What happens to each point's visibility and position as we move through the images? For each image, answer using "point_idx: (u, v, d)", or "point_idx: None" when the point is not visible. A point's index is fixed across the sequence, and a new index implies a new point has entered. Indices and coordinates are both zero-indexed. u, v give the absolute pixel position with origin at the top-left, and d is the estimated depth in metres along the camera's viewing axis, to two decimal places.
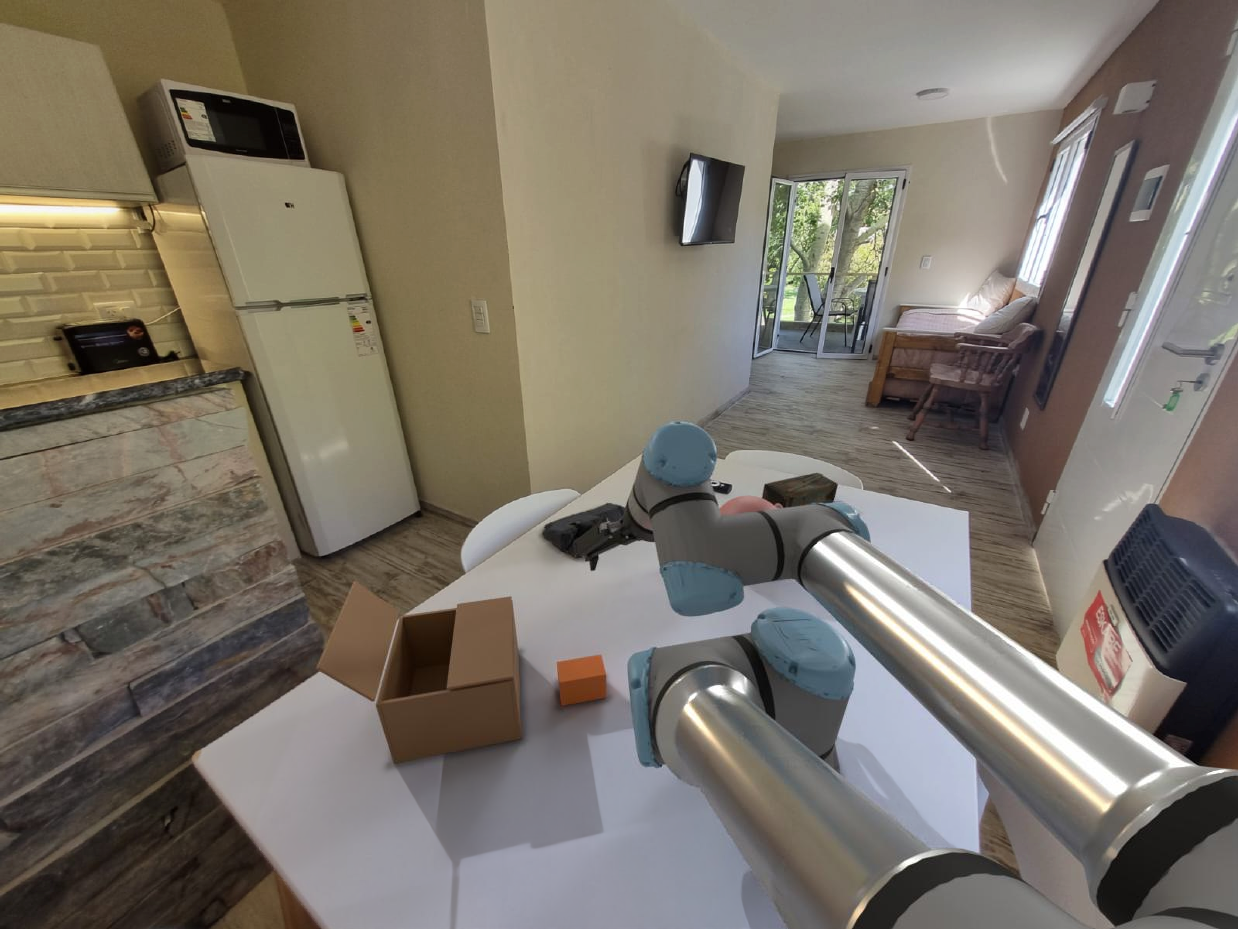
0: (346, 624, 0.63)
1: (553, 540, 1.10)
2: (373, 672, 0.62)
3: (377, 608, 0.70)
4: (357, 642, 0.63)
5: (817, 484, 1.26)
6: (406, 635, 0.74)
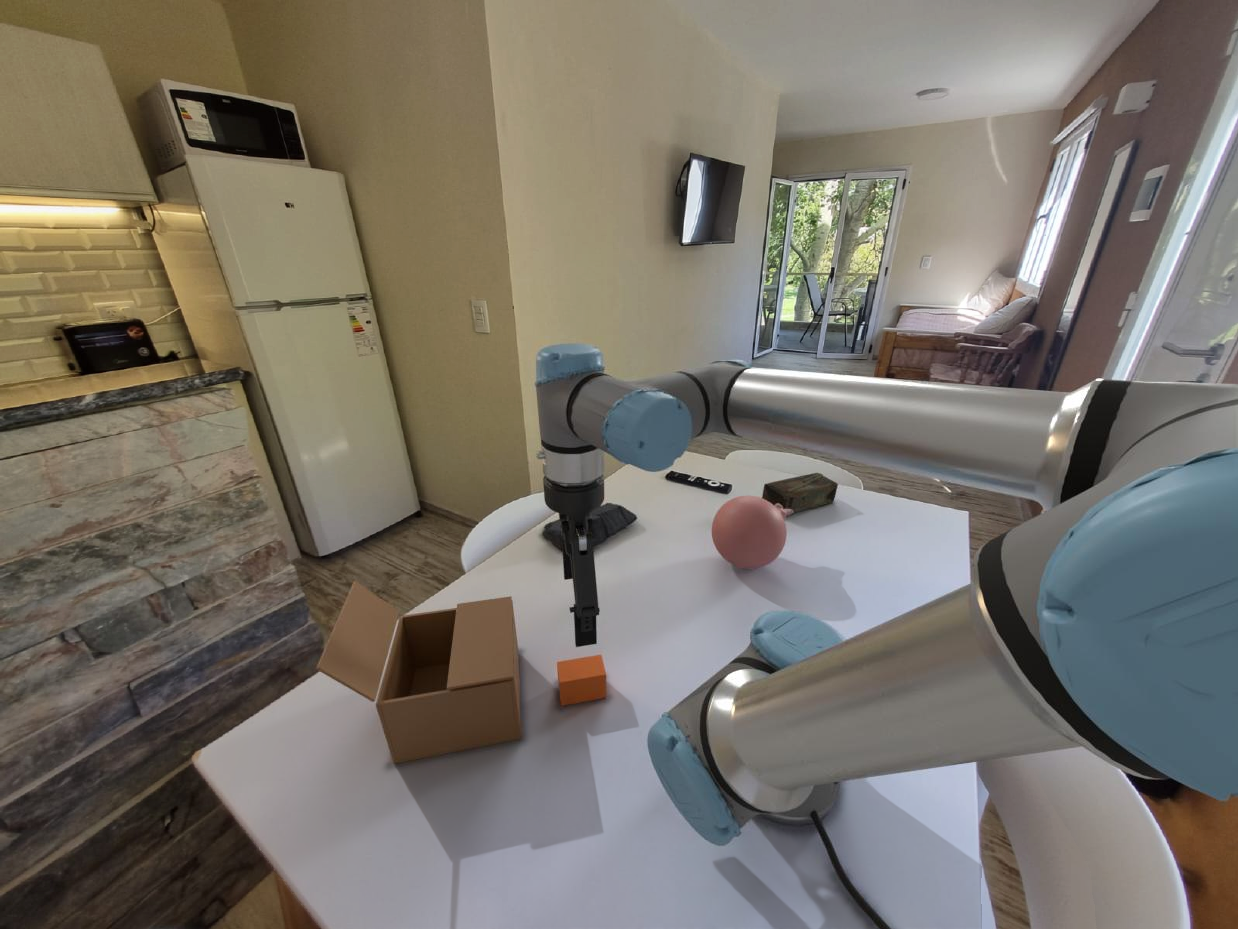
0: (346, 624, 0.63)
1: (553, 540, 1.10)
2: (373, 672, 0.62)
3: (377, 608, 0.70)
4: (357, 642, 0.63)
5: (817, 484, 1.26)
6: (406, 635, 0.74)
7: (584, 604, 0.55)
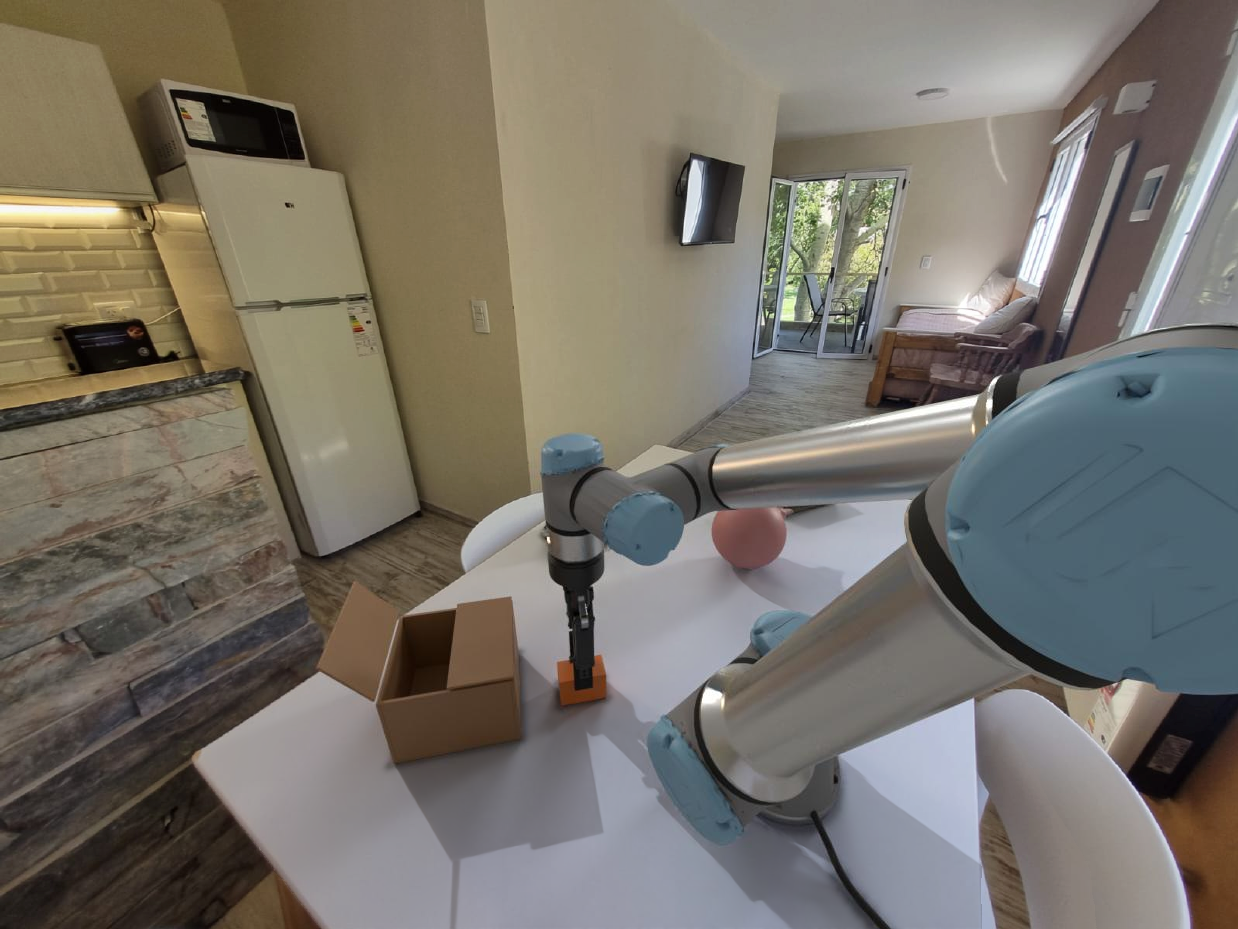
0: (346, 624, 0.63)
1: None
2: (373, 672, 0.62)
3: (377, 608, 0.70)
4: (357, 642, 0.63)
5: None
6: (406, 635, 0.74)
7: (582, 662, 0.64)
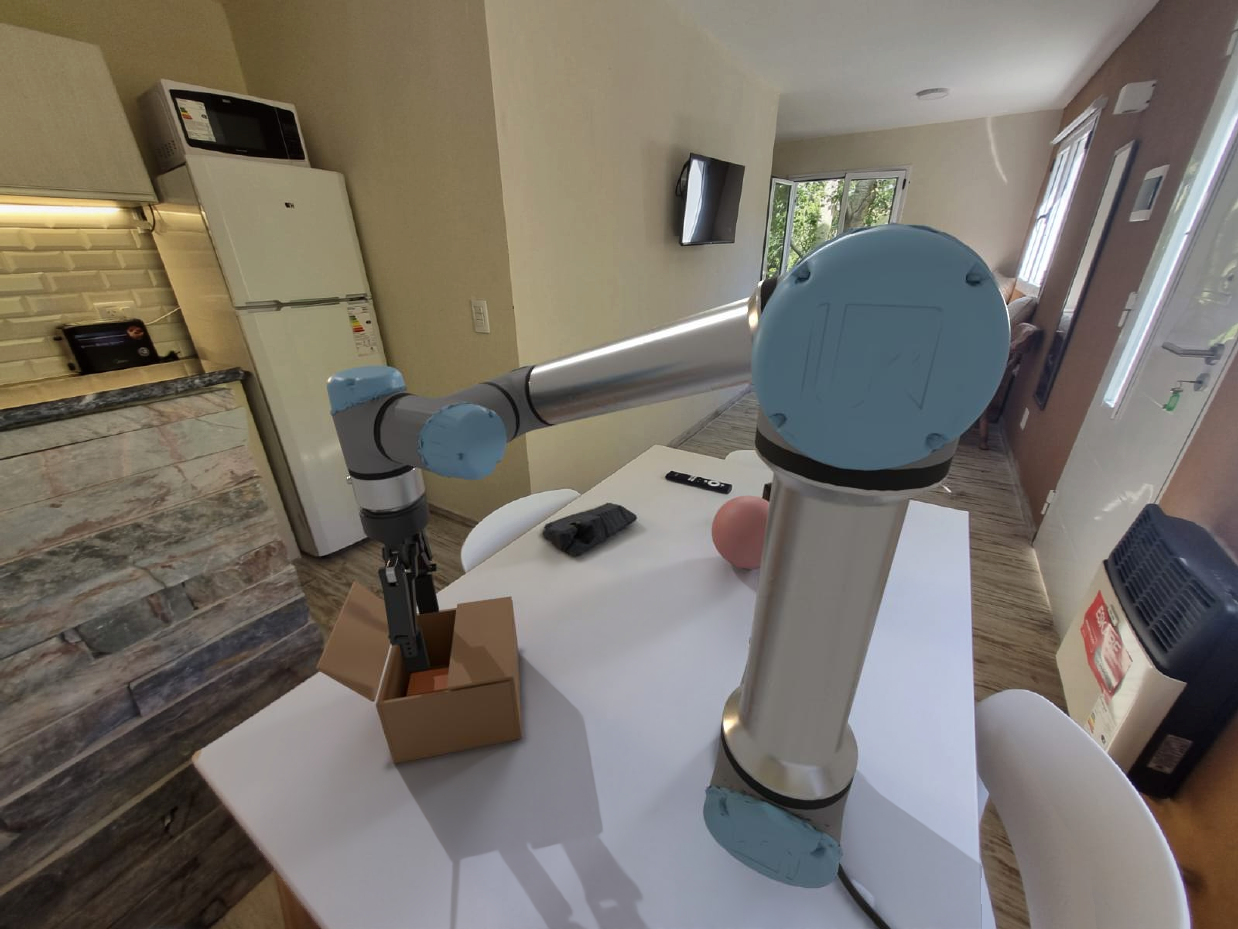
0: (346, 624, 0.63)
1: (553, 540, 1.10)
2: (373, 672, 0.62)
3: (377, 608, 0.70)
4: (357, 642, 0.63)
5: None
6: None
7: (396, 633, 0.55)
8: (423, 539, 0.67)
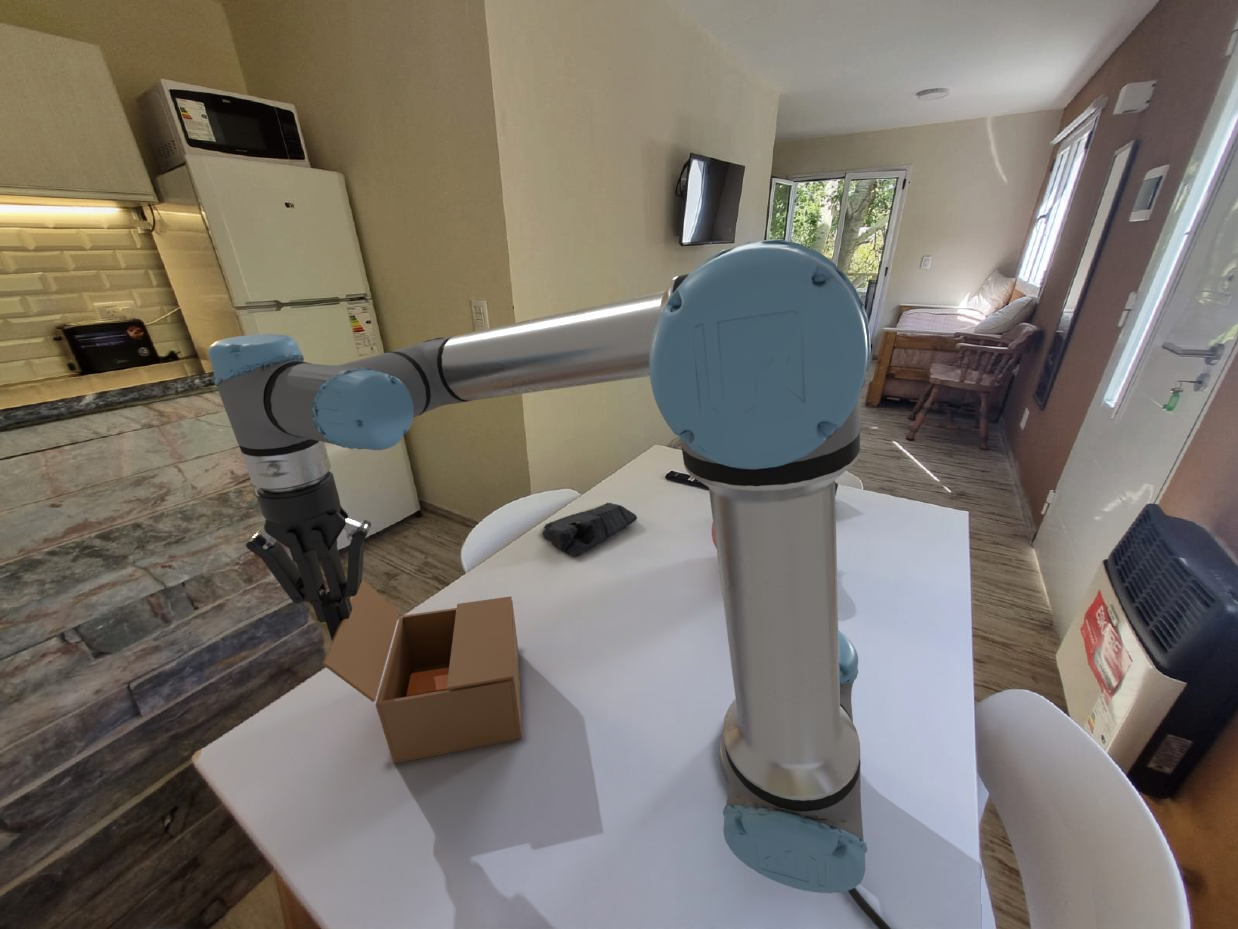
0: (351, 621, 0.63)
1: (553, 540, 1.10)
2: (374, 671, 0.62)
3: (379, 607, 0.70)
4: (361, 640, 0.63)
5: None
6: (406, 635, 0.74)
7: (359, 582, 0.60)
8: (289, 557, 0.58)
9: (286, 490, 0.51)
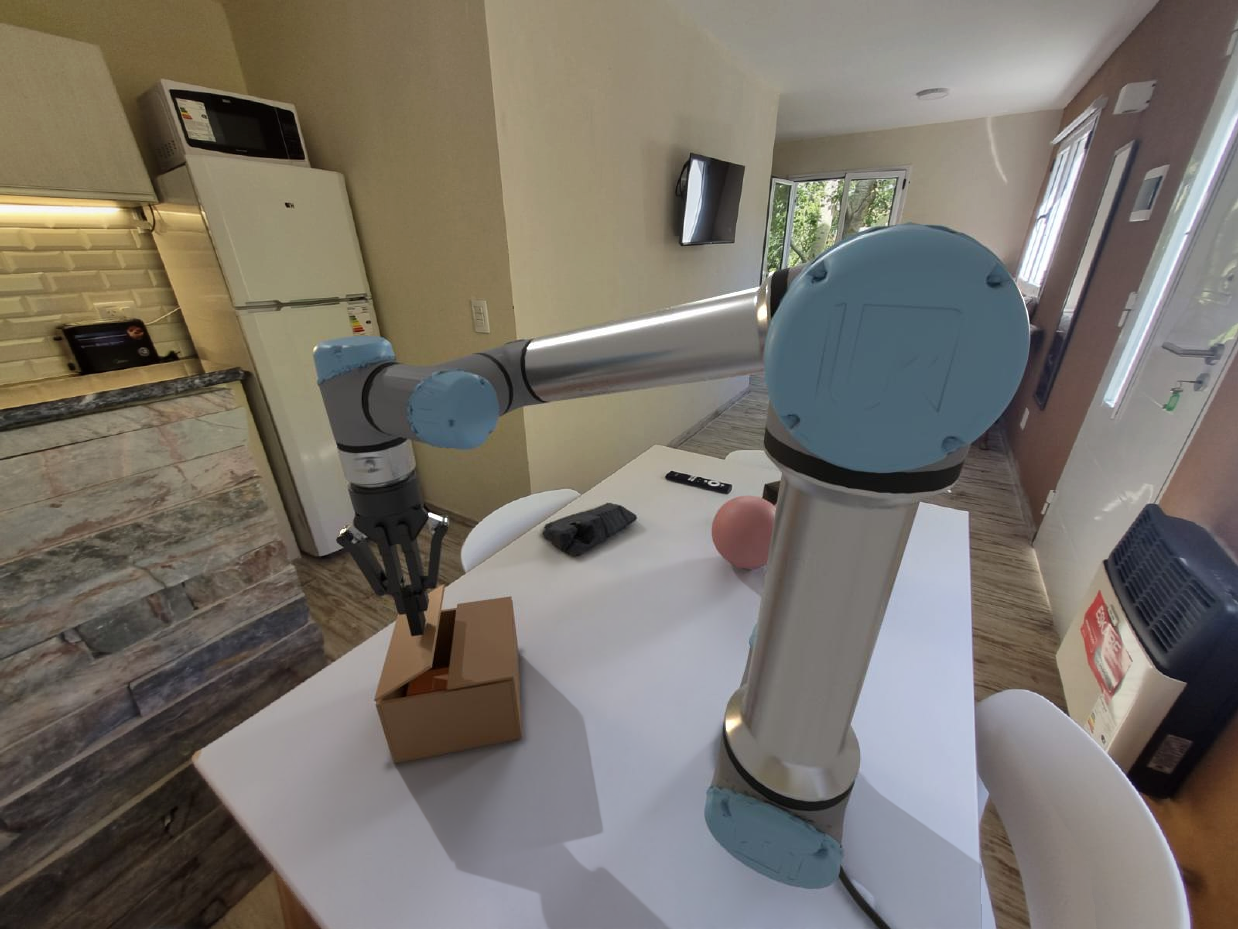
0: None
1: (553, 540, 1.10)
2: None
3: None
4: None
5: None
6: None
7: None
8: None
9: (379, 485, 0.53)
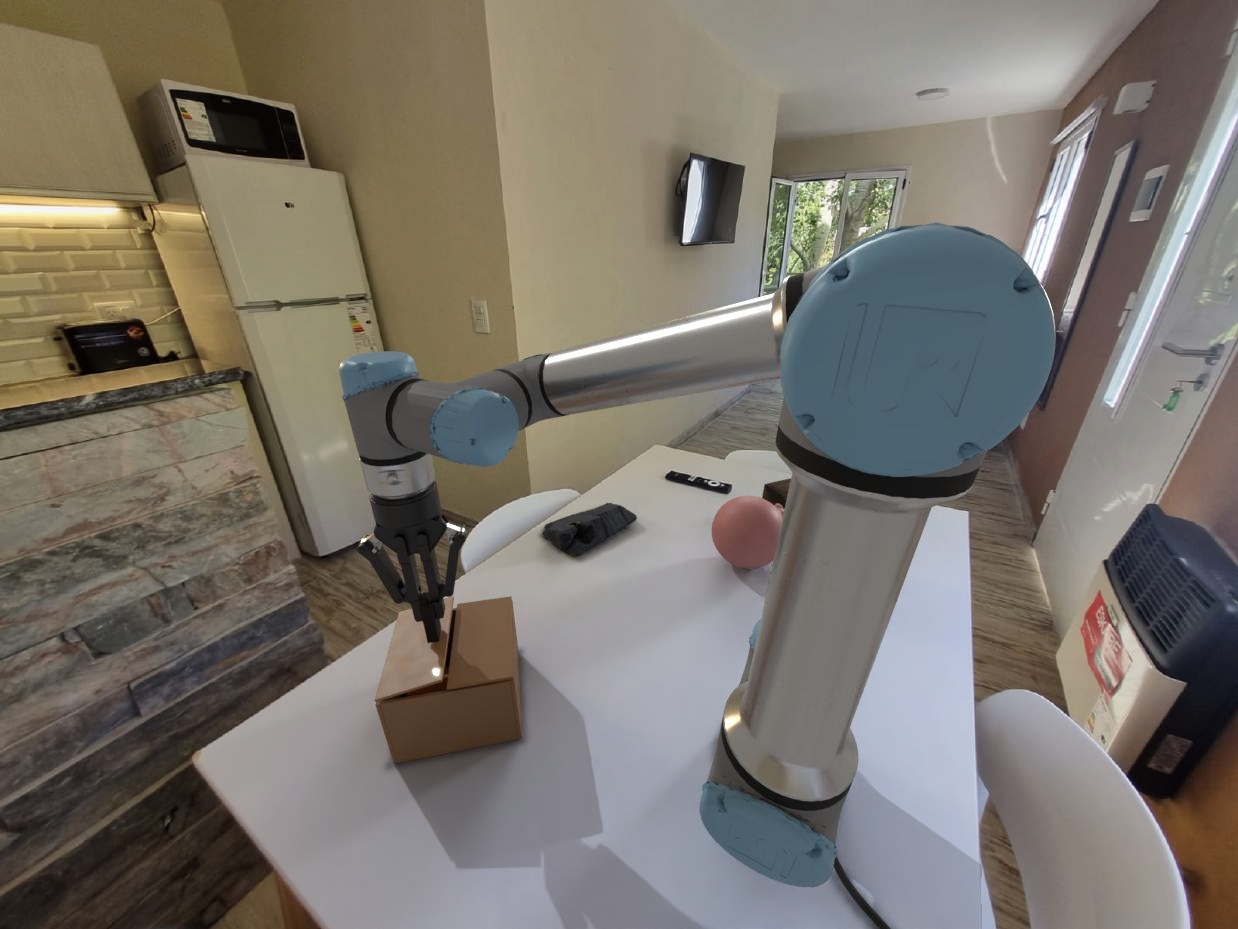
0: None
1: (553, 540, 1.10)
2: None
3: None
4: None
5: None
6: None
7: None
8: (390, 560, 0.62)
9: (401, 497, 0.54)
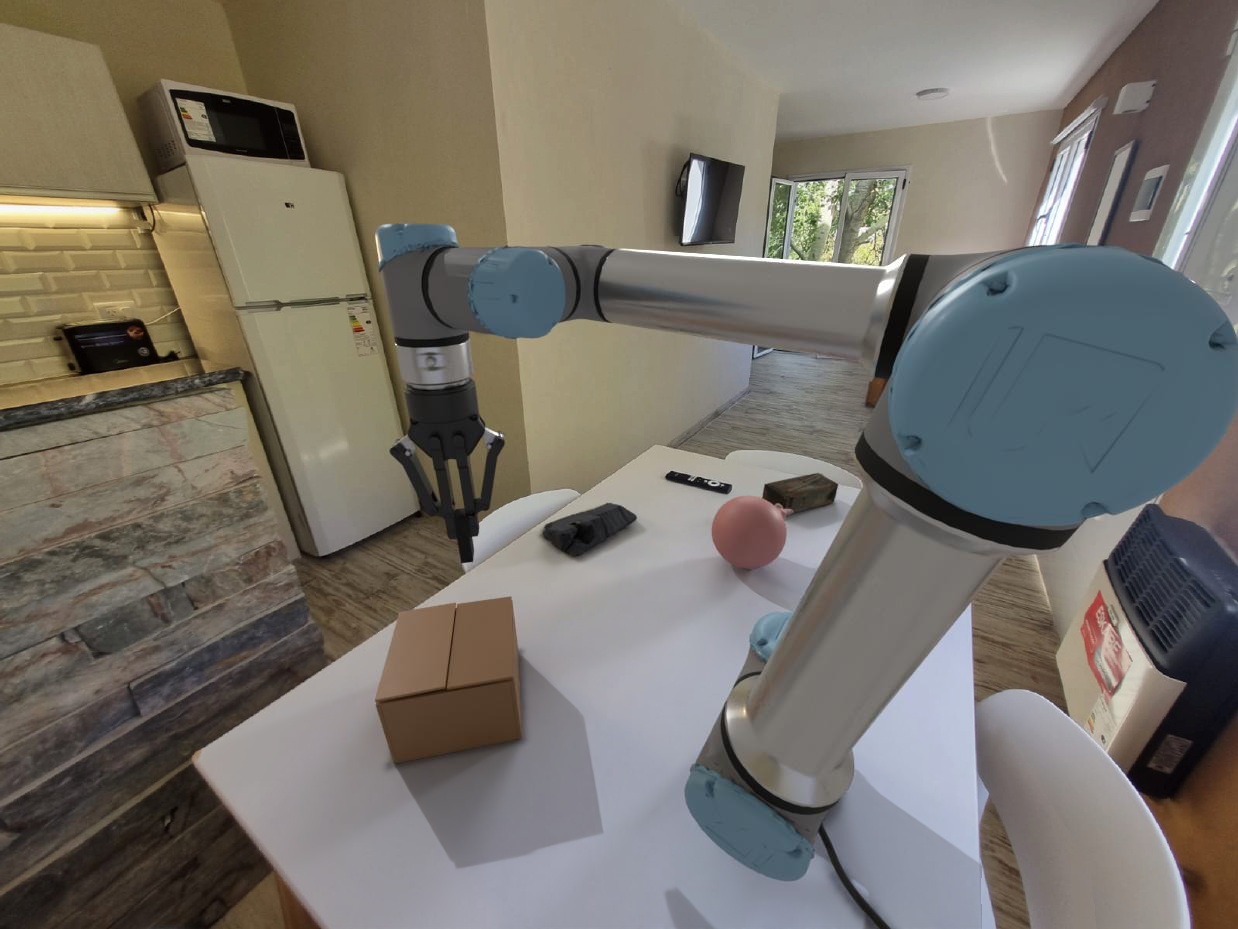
0: None
1: (553, 540, 1.10)
2: None
3: None
4: None
5: (818, 484, 1.26)
6: None
7: None
8: (423, 469, 0.58)
9: (439, 387, 0.50)
